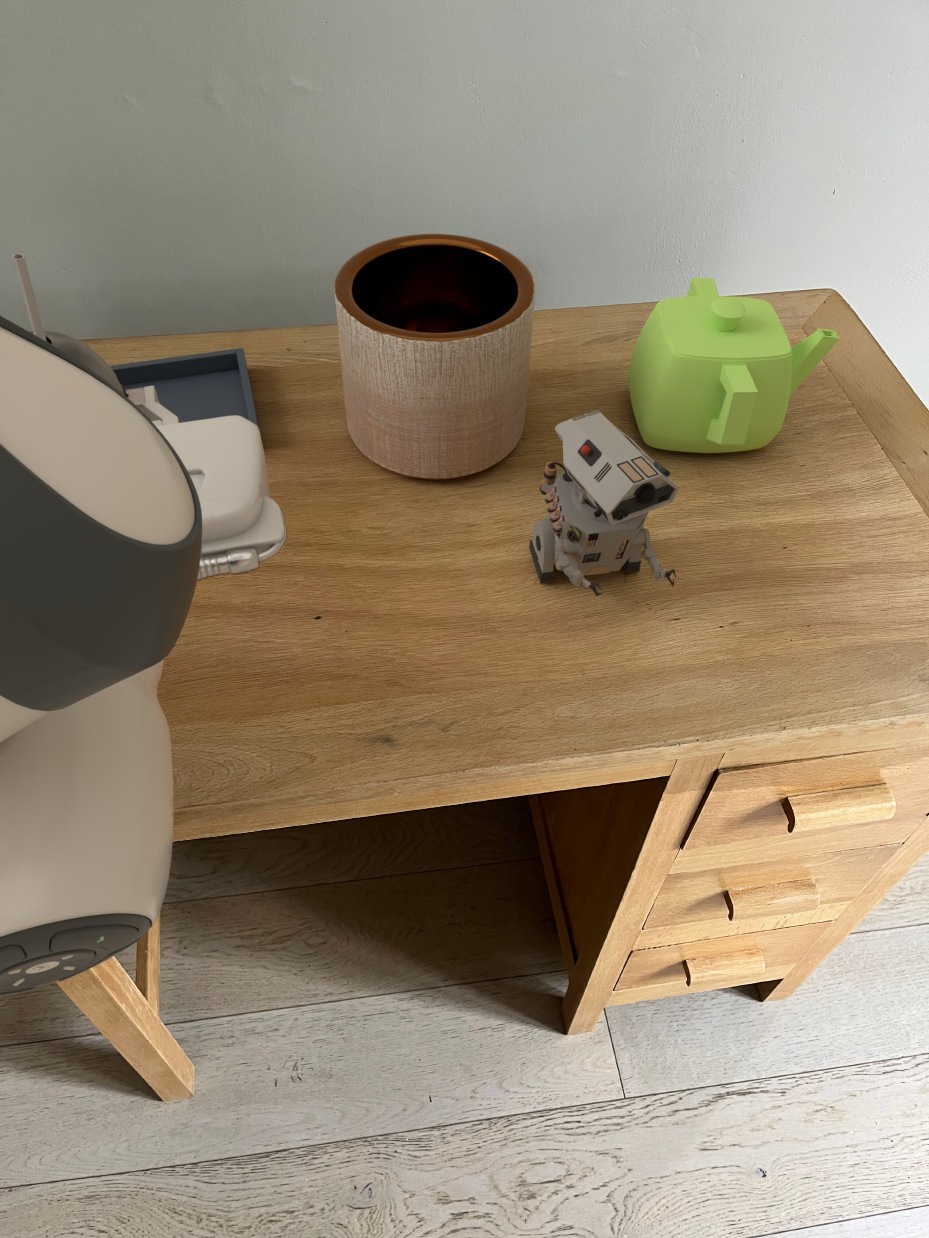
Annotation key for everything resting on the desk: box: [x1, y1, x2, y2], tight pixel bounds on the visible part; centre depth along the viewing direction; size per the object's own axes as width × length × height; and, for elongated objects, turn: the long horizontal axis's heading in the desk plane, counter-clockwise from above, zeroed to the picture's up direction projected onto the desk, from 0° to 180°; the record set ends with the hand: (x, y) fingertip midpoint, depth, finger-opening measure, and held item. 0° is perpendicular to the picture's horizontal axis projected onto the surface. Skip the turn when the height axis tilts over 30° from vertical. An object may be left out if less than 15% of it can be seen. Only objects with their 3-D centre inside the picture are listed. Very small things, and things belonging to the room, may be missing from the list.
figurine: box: [528, 409, 681, 597], centre depth 68 cm, size 9×12×15 cm
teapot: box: [627, 277, 840, 454], centre depth 83 cm, size 18×20×13 cm
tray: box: [109, 347, 261, 432], centre depth 85 cm, size 18×14×3 cm
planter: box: [333, 233, 536, 480], centre depth 80 cm, size 18×18×16 cm
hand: (58, 408), depth 45 cm, fingers closed on beverage cup, 7 cm apart
